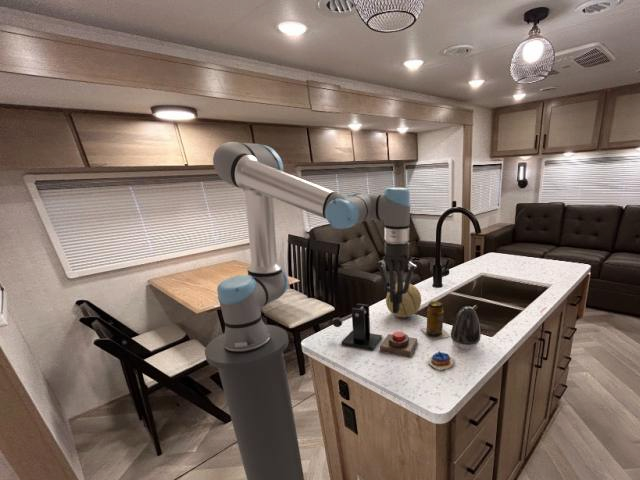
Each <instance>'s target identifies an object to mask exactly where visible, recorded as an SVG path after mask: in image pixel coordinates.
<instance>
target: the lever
mask: <svg viewBox="0 0 640 480" xmlns="http://www.w3.org/2000/svg"><path fill="white" fill-rule="evenodd" d="M358 309H364V311H365V313H366V310H365V308H364V307H363V306H362V307H360V308H358ZM350 319H352V313H350V314H349V315H346V316H344V317H342V318H341V317H334V318H333V319H332V325H333V327H335V328H340V327H341V326H343V322H345V321H347V320H350Z"/></svg>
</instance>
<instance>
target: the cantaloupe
mask: <svg viewBox="0 0 640 480" xmlns="http://www.w3.org/2000/svg"><path fill="white" fill-rule="evenodd" d="M404 285H405V281H403V288H404ZM395 289H396V290H395V292H397V283H396V286H395ZM421 295H422V294H421V293H420V290H419V289H418V287H416V286H415V285H414V284H412V283H410V286H409V289H408V291H407V292H406V293H405V294H403V295H402V302H401V304H400V306H399V311H398V313H393V303H392V302H390V293H389V292H388V291H387V292H386V297H385V305H386V307H387V309H388V311H389V312H390V313H391V314H392V315H394V316H396V317H398V318H409V317H412V316H413V315H415V314H416V313H417V312H419V310H420V308H421V304H422V296H421Z"/></svg>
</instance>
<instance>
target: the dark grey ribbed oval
mask: <svg viewBox="0 0 640 480" xmlns="http://www.w3.org/2000/svg"><path fill="white" fill-rule="evenodd" d="M477 308H479V307H478V304H475V305H473V306H469V305H466V306H462V307H461V308H460V310H459V311H458V312H457V313H456V316H455V318H454V321H453V324H452V327H451V331H450V338H451V341H452V343H453V345H454V346H455V347H456V348H457V349H459V350H462V351H470V350H473V349H475V348H476V347H477V346H478V344H479V342H480V341H481V338H482V337H481V336H482V334H481V333H482V332H481V325H480V324H481V323H480V320H479V316H478V314H477V311H476V310H477Z"/></svg>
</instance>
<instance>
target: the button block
mask: <svg viewBox="0 0 640 480" xmlns="http://www.w3.org/2000/svg"><path fill="white" fill-rule="evenodd" d="M404 334H405V339H404V340H403V341H395V340H394V339H393V333H392V334H390V333H388V334H387V335H386V337H385V338H384V339H383V341H382V342H381V343H380V345H379V352H381V353H385V354H391V355H392V354H393V355H396V356H397V355H398V356H405V357H411V356H412V355H413V353H414V351H415V349H416V347H417V345H418V338H417V337H410V336H409V335H408V334H406V333H404Z"/></svg>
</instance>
